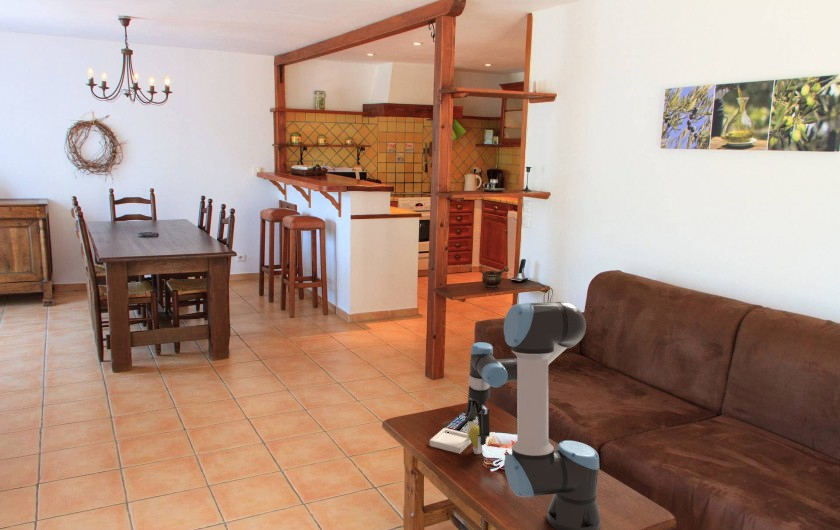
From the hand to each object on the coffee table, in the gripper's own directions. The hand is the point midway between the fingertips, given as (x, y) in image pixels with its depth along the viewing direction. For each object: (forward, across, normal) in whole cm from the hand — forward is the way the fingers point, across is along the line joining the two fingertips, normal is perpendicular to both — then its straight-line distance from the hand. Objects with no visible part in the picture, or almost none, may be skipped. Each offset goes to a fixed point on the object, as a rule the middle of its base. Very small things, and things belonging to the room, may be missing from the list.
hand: (475, 444), depth 227 cm
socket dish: (+3, +8, +6) cm, 10 cm away
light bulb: (+2, -2, 0) cm, 3 cm away
